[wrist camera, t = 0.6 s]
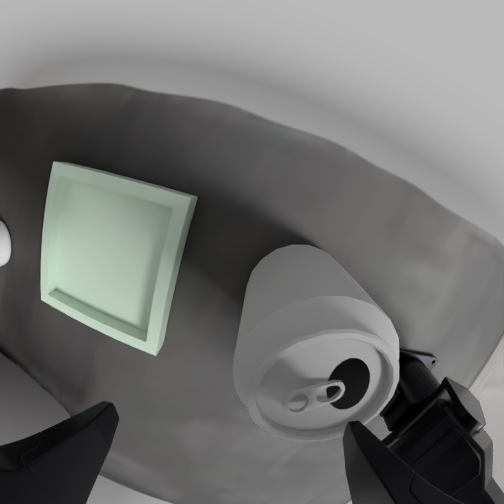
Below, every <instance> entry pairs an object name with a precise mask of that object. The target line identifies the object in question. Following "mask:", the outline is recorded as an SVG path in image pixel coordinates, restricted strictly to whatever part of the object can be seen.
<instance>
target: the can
mask: <svg viewBox="0 0 504 504" xmlns="http://www.w3.org/2000/svg"><path fill="white" fill-rule="evenodd" d="M398 360H399V337H398V335H397V333H396V331H395V328H394V326H393V324H392V322H391V320H390V318H389V317H388V316H387V315H386V314H385V313H384V312H383V311H382V309H381V308H380V307H379V306H378V305H377V304H376V303H375V302H374V300H373V299H372V298H371V297H370V296H369V295H368V294H367V293H366V292H365V291H364V290H363V288H362V287H361V286H360V285H359V284H358V283H357V282H356V281H355V280H354V279H353V278H352V277H351V276H350V274H349V273H348V272H347V271H346V270H345V269H344V268H343V267H342V266H341V265H340V264H339V263H338V262H337V261H336V260H335V259H334V258H333V257H331V256H330V255H329V254H328V253H327V252H325V251H324V250H321V249H319V248H316V247H313V246H310V245H289V246H286V247H282V248H279V249H276V250H274V251H273V252H271V253H270V254H268V255H267V256H265V257H264V258H262V259H261V261H260V262H259V263H258V264H257V266H256V267H255V268H254V269H253V271H252V273H251V276H250V278H249V281H248V284H247V287H246V293H245V299H244V304H243V310H242V315H241V321H240V326H239V332H238V338H237V343H236V349H235V354H234V360H233V385H234V387H235V389H236V391H237V393H238V395H239V397H240V399H241V401H242V403H243V404H245V405H246V408H247V410H248V412H249V414H250V416H251V418H252V420H253V421H254V422H255V423H256V424H257V425H258V426H260V427H261V428H262V429H263V430H264V431H265V432H267V433H270V434H272V435H274V436H277V437H279V438H281V439H284V440H290V441H297V442H304V443H305V442H320V441H327V440H331V439H334V438H338V437H341V436H343V434H344V431H345V428H346V425H347V423H348V422H349V421H360V422H361V423H362V424H363V425H366V424H367V423H368V422H369V421H371V420H372V419H373V418H374V417H376V416H377V415H378V414H379V413H380V412H381V411H382V410H383V408H384V407H385V406H386V405H387V403H388V402H389V401H390V399H391V398H392V397H393V394H394V392H395V389H396V387H397V384H398V381H399V361H398Z"/></svg>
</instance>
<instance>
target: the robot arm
mask: <svg viewBox="0 0 504 504" xmlns="http://www.w3.org/2000/svg"><path fill="white" fill-rule="evenodd" d="M398 361H399V381H398V384H397V387H396V389H395V392H394V394H393V397H392V398H391V399H390V401H389V402H388V403H387V405H386V406H385V407H384V408H383V410H382V411H381V412H380V413H379V414H380V416H381V417H383V418H384V421H385V423H386V425H387V428H388V430H389V431H393V432H392V433H390V434H389V435H388V436H387V437H386V438H384V439H383V440H382V441H380V440H379V439H378V438H377V437H376V436H375V435H374V434H373V433H372V432H371V431H369V430H368V429H367V428H366V427H365V426H364V425H363V424H362V423H361V422H360V421H349V422H348V423H347V425H346V428H345V431H344V434H343V446H344V457H345V469H346V476H347V480H348V485H349V489H350V494H351V499H352V504H504V493H503V492H502V490H501V489H500V488H499V486H498V485H497V483H496V482H495V480H494V479H493V478H492V462H493V443H492V440H491V438H490V437H489V436H488V434H487V433H486V431H485V430H484V429H483V427H484V426H485V425H486V422H485V418H484V415H483V412H482V409H481V406H480V403H479V401H478V400H477V399H476V398H475V397H474V395H473V394H472V393H471V392H470V391H469V390H468V389H467V388H466V387H464V386H462V385H460V384H458V383H457V382H455V381H453V380H451V379H450V378H448V377H445V378H444V379H443V381H442V383H441V384H440V383H439V382H438V381H437V379H436V378H435V377H434V376H433V374H432V373H431V370H432V369H433V367H434V366H435V364H436V362H437V358H436V357H435V356H430V355H425V354H419V353H414V352H408V351H403V350H399V360H398ZM118 422H119V416H118V413H117V411H116V409H115V406H114V404H113V403H111V402H108V401H102V402H100V403H98V404H96V405H94V406H92V407H91V408H89V409H87V410H85V411H83V412H81V413H79V414H77V415H75V416H73V417H71V418H69V419H67V420H64V421H62V422H60V423H59V424H56V425H54V426H52V427H50V428H48V429H46V430H43V431H41V432H39V433H37V434H34V435H32V436H30V437H27V438H24V439H21V440H18V441H15V442H12V443H9V444H5V445H1V446H0V504H86V502H87V500H88V497H89V495H90V493H91V490H92V488H93V485H94V483H95V481H96V479H97V476H98V474H99V472H100V469H101V467H102V465H103V463H104V461H105V458H106V456H107V454H108V452H109V449H110V447H111V444H112V440H113V437H114V434H115V431H116V428H117V425H118Z"/></svg>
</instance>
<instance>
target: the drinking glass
mask: <svg viewBox="0 0 504 504" xmlns="http://www.w3.org/2000/svg"><path fill="white" fill-rule="evenodd" d="M10 255H11V239H10V234H9V231H8V229H7V227H6V225H5V224H4V223H3V222H2V221H0V266H3V265H5V264H6V263H7V262H8V260H9V258H10Z"/></svg>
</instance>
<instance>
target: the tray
mask: <svg viewBox="0 0 504 504" xmlns="http://www.w3.org/2000/svg"><path fill="white" fill-rule="evenodd" d="M197 199H198V197H197V196H194V195H190V194H187V193H184V192H180V191H177V190H173V189H169V188H166V187H162V186H159V185H155V184H151V183H148V182H144V181H140V180H137V179H133V178H129V177H125V176H121V175H117V174H114V173H110V172H106V171H102V170H98V169H94V168H89V167H85V166H81V165H77V164H73V163H68V162H54V161H53V166H52V171H51V176H50V181H49V187H48V193H47V199H46V206H45V214H44V223H43V234H42V250H41V300H43V301H44V302H46V303H48V304H49V305H51V306H53V307H54V308H56V309H58V310H60V311H62V312H63V313H65V314H67V315H69V316H71V317H72V318H74V319H76V320H78V321H80V322H82V323H84V324H86V325H88V326H90V327H92V328H94V329H96V330H98V331H100V332H102V333H104V334H106V335H108V336H110V337H113V338H115V339H117V340H119V341H121V342H124V343H126V344H128V345H131V346H133V347H135V348H138V349H140V350H143V351H145V352H147V353H150V354H152V355H155V356H156V355H157V353H158V352H159V350H160V349H161V347H162V345H163V344H164V338H165V333H166V328H167V323H168V318H169V313H170V308H171V303H172V298H173V294H174V289H175V285H176V280H177V276H178V272H179V268H180V263H181V259H182V255H183V251H184V247H185V243H186V239H187V235H188V232H189V228H190V224H191V220H192V217H193V213H194V210H195V206H196V202H197Z"/></svg>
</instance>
